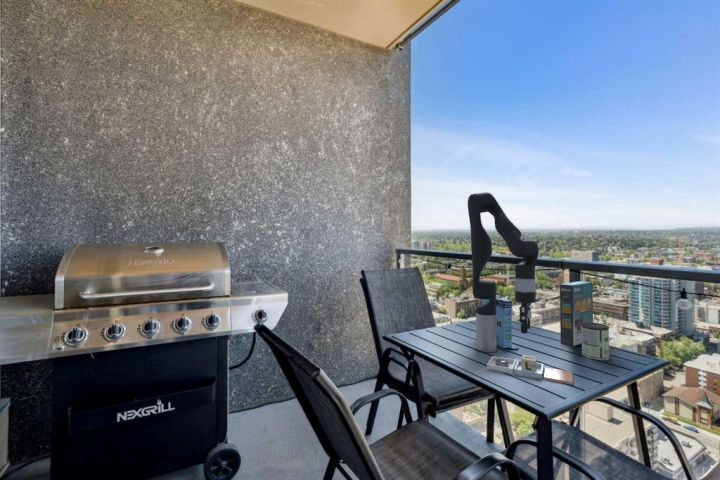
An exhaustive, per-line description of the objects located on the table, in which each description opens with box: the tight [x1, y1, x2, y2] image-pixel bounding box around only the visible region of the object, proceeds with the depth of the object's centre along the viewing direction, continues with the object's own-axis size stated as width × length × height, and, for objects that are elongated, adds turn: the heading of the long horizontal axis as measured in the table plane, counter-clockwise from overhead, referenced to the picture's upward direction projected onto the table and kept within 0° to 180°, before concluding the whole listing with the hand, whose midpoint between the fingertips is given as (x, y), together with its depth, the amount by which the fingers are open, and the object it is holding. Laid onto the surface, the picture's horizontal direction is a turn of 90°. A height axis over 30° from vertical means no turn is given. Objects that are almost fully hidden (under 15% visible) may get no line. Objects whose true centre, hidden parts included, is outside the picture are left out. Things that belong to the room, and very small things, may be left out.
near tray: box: [486, 355, 518, 375], centre depth 138 cm, size 12×10×2 cm
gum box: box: [480, 296, 513, 349], centre depth 173 cm, size 20×5×23 cm, turn 13°
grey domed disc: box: [496, 359, 509, 367], centre depth 138 cm, size 5×5×2 cm
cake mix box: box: [559, 280, 594, 347], centre depth 174 cm, size 22×6×30 cm, turn 123°
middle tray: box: [513, 359, 545, 381], centre depth 133 cm, size 12×10×2 cm
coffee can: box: [581, 322, 610, 361], centre depth 150 cm, size 10×10×14 cm
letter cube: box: [520, 354, 538, 372], centre depth 133 cm, size 5×5×5 cm
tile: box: [543, 367, 574, 386], centre depth 128 cm, size 11×9×1 cm
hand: (525, 330), depth 133 cm, fingers open, 8 cm apart
